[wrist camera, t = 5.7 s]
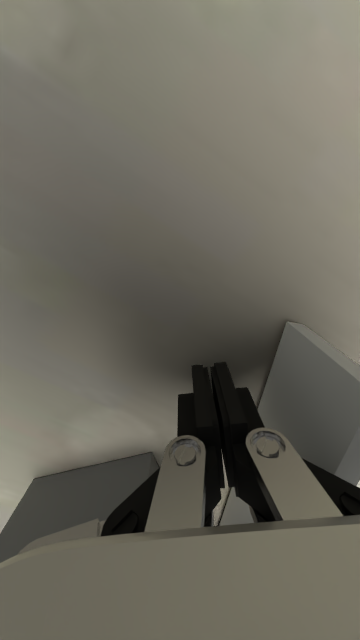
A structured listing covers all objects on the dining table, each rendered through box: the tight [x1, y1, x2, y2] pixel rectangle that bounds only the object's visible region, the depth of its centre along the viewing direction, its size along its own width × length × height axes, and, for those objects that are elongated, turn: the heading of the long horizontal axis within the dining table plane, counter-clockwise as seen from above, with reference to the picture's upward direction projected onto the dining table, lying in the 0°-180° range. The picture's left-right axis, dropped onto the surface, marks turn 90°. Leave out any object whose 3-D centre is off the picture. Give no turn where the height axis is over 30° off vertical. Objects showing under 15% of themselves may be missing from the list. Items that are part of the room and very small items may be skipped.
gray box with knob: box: [0, 452, 159, 563], centre depth 14 cm, size 14×8×7 cm, turn 17°
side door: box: [219, 322, 360, 526], centre depth 12 cm, size 20×2×6 cm, turn 171°
